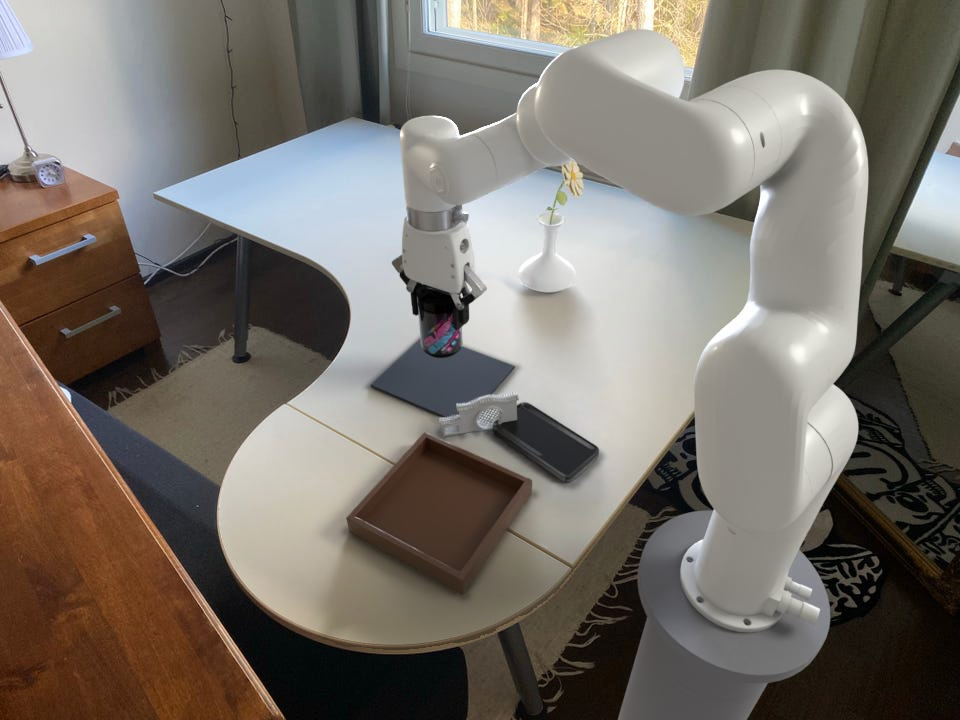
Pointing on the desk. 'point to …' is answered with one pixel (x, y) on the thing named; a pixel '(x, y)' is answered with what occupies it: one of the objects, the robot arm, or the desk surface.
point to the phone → (547, 442)
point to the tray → (441, 510)
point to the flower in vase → (553, 243)
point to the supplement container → (437, 322)
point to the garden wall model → (473, 410)
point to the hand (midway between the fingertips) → (440, 317)
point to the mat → (442, 379)
